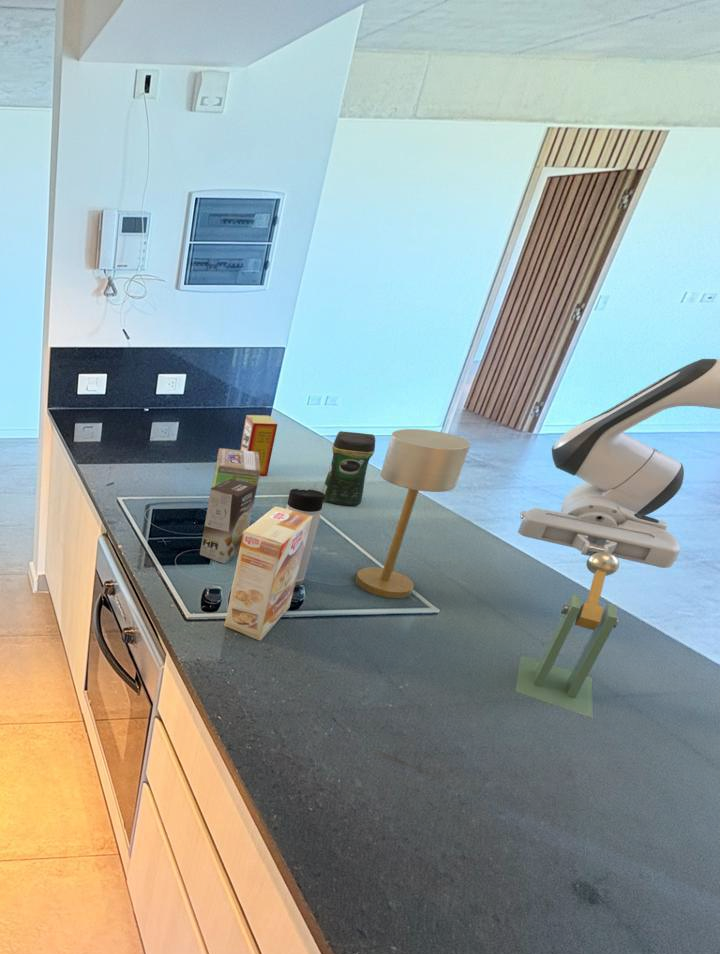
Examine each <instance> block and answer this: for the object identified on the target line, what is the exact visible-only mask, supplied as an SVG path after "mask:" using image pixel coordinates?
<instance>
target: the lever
mask: <svg viewBox="0 0 720 954" xmlns="http://www.w3.org/2000/svg"><path fill="white" fill-rule="evenodd" d="M585 565H586V568H587V570H588V571H589V572H590V573H591V574H593V577H592V580H591V585H590V589H589V591H588V592H589V593H588V596H587V600H586V602H585V601H584V602H583V603H582V605H581V609H580V611H579V613H578V615H577V617H576V619H575V621H574V626H578V627H581V628H584V629H588V630H591V631H594V630H595V628H596V627H597V626H598V625H599V623H600V621H601V617H602V613H603V611H604V609H605V607H604V606H601V605H599V603H600V598H601V595H602V592H603V587H604V583H605V580H606V577H609V576H611V575H614V574H615V573H616V572H618V570H619V569H620V561H619V558H617V557H615V556H614V555H612V554H609V553H604V552H601V553H596V554H593V555H591V556H588V558H587V559H586V563H585Z"/></svg>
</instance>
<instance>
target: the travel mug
mask: <svg viewBox="0 0 720 954" xmlns="http://www.w3.org/2000/svg"><path fill="white" fill-rule="evenodd" d="M324 497H325V494H324V493H322V491H319V490H316V489H299V488H292V489H290V490H289V494H288V499H287V502H286V506H285V509H288V510H292V511H296V512H300V513H303V514H307V515H310V516H313V518H312V521H311V524H310V528H309V532H308V536H307V540H306V544H305V548H304V551H303V555H302V559H301V563H300V567H299V571H298V575H297V579H296V583H295V585H299V586H301V585H303V584H304V582H305V578H306V574H307V570H308V567H309V562H310V559H311V553H312V550H313V546H314V542H315V538H316V534H317V531H318V528H319V527H318V526H319V523H320V518H321V516H322V515H321V514H322V510H323V504H324V502H325V500H324Z"/></svg>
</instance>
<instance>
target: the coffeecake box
mask: <svg viewBox="0 0 720 954" xmlns="http://www.w3.org/2000/svg"><path fill="white" fill-rule="evenodd" d="M312 518H313V516H310V515H307V514H303V513H300V512H296V511H292V510H288V509H286V507H281V506H277V505H275V506H274V507H272V508H270V510H269V511H267V512H266V513H265V514H263V515H262V516H261V517H260V518H258V519H257V520H256V521H254V522H253V523H252V524H250V525H249V527H248V528H247V529H246V530H244V531H243V536H242V541H241V546H240V551H239V555H237V561H236V567H235V571H234V576H233V581H232V584H231V585H232V586H231V589H230V590H231V591H230V596H229V600H228V606H227V611H226V616H225V620H224V628H225V627H226V628H228V629H231V630H232V631H236V632H238V633H240V634H243V635H245V636H247V637H248V638H249V637H250V638H252V639H255V640H257V641H262V640H263V638H264V637H265V636H266V635H267V634H268V633H269V632H270V631H271V629H272V628H273V627H275V625H276V624H277V622H278V621H279V620H280V619H281V618H282V617H283V616H284V614H285V613H286V612H287V611H288V610H289V609H290V607H291V603H292V599H293V595H294V591H295V587H296V586H295V583H296V579H297V575H298V571H299V567H300V563H301V559H302V555H303V551H304V548H305V544H306V540H307V536H308V532H309V528H310V524H311V521H312Z"/></svg>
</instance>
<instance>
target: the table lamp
mask: <svg viewBox="0 0 720 954" xmlns="http://www.w3.org/2000/svg"><path fill="white" fill-rule="evenodd" d="M470 446H471V443H470V441H468V440H467V439H465V438H464V437H461V436H457V435H454V434H451V433H447V432H442V431H437V430H430V429H418V428H406V429H405V428H404V429H398V430H394V431H393V432H392V433H391V437H390V440H389V444H388V447H387V450H386V454H385V457H384V460H383V464H382V467H381V470H380V475H379V476H380V477H381V478H382V479H383V480H384V481H385V482H388V483H390V484H392V485H394V486H398V487H401V488H404V489H408V491H407V494H406V496H405V499H404V503H403V506H402V509H401V513H400V515H399V518H398V521H397V525H396V527H395V528H396V529H395V531H394V534H393V537H392V540H391V544H390V547H389V550H388V553H387V556H386V560H385V563H384V566H383V567H376V566H374V567H373V566H369V567H363V568H360V569H359V570H358V571H357V572H356V576H355V583H356V584H357V585H358V587H360V588H361V589H362V590H364V591H366V592H368V593H370V594H372V595H375V596H378V597H381V598H382V597H383V598H387V599H405V598H407V597H409V596H411V595H412V593H413V590H414V587H415V585H414V582H413V581H412V580H411V579H410V578H409V577H407V576H406V575H404V574H402V573H400V572H398V571H395V570H394V568H395V565H396V562H397V559H398V555H399V553H400V550H401V547H402V543H403V540H404V537H405V534H406V532H407V528H408V525H409V522H410V519H411V516H412V513H413V509H414V507H415V504H416V499H417V498H418V494H419V492H429V493H444V492H451V491H452V490H455V488H456V486H457V484H458V481H459V479H460V475H461V472H462V469H463V467H464V464H465V461H466V458H467V455H468V452H469V450H470Z"/></svg>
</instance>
